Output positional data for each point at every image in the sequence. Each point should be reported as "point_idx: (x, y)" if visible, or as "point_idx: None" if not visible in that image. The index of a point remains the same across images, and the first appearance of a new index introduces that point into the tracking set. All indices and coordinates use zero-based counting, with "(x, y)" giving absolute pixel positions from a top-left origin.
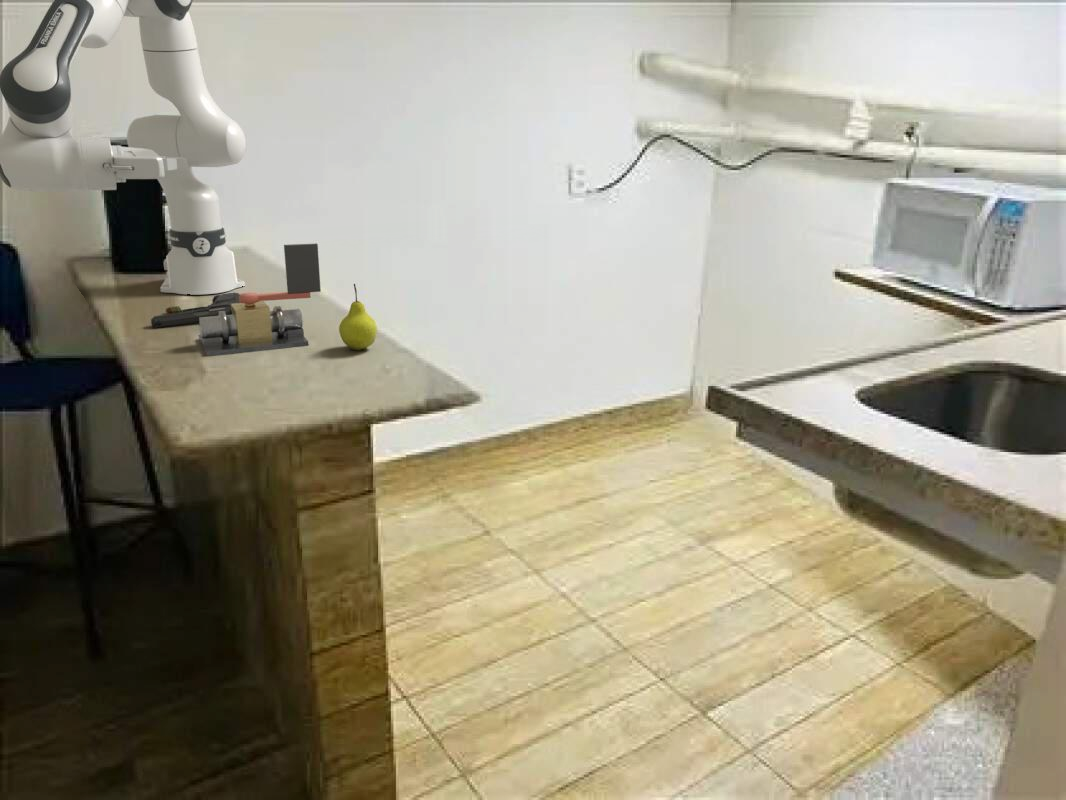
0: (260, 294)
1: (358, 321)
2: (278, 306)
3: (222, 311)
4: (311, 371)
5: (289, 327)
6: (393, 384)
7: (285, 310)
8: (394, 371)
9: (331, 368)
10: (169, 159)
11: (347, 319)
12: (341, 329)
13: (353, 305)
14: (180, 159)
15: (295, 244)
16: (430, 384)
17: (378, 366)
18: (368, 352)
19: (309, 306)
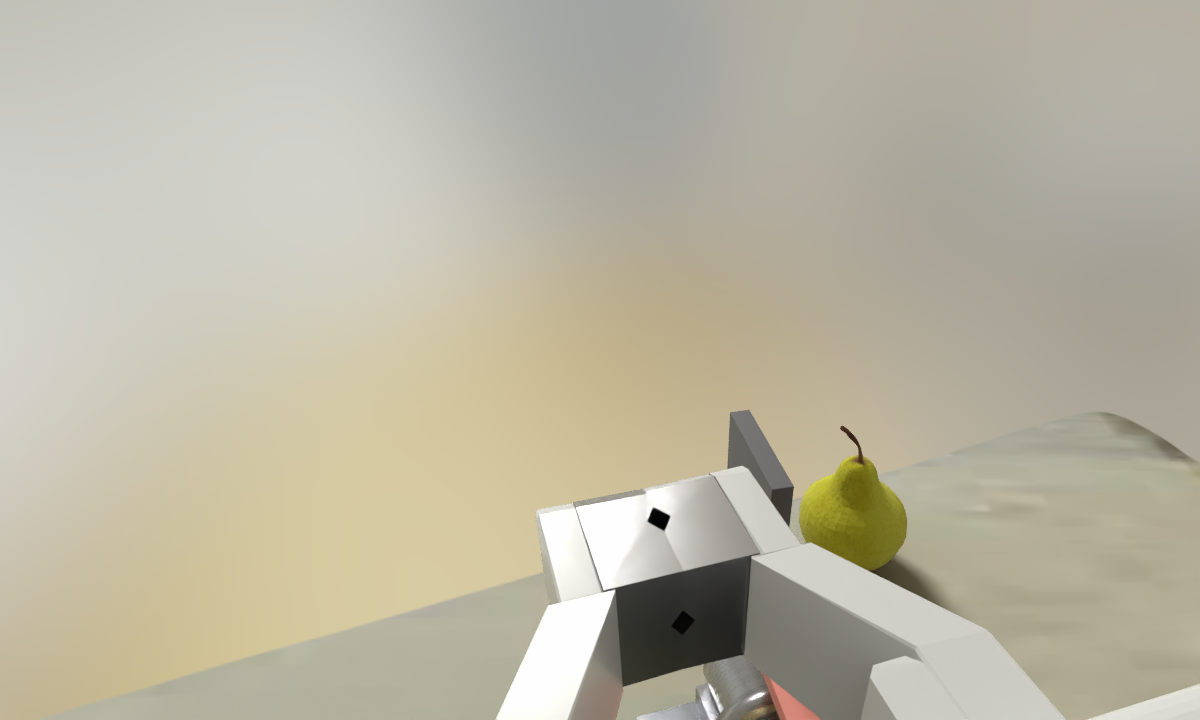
0: (799, 716)
1: (893, 493)
2: (765, 690)
3: None
4: (1086, 654)
5: None
6: (1105, 500)
7: (762, 678)
8: (1010, 498)
9: (1038, 610)
10: (930, 612)
11: (884, 512)
12: (892, 544)
13: (874, 472)
14: (769, 514)
15: (759, 459)
16: (1073, 451)
17: (983, 523)
18: None
19: (322, 696)
